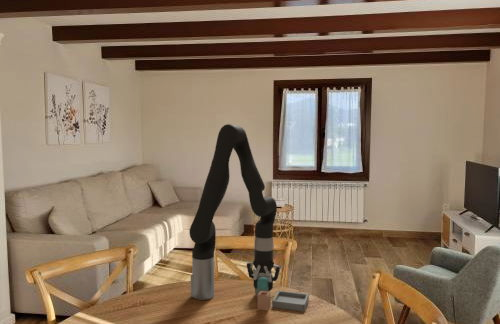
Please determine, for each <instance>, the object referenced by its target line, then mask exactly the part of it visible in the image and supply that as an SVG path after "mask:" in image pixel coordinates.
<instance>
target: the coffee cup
mask: <svg viewBox="0 0 500 324" xmlns="http://www.w3.org/2000/svg"><path fill="white" fill-rule="evenodd" d="M252 269H253V274H254V275H255V272H256V268H255V267H254V266H253V268H252ZM271 271H272V272H273V270H272V269H271ZM260 277H266V278H267V279H268V277H267V275H266V274H265V273H259V275H258V279H259V278H260ZM268 280H269V279H268ZM260 291H266V292H270V291H268V288H267V289H266V290H261V289H259V288H257V289H255V288H254V294H255V296H256V298H258V294H259V292H260Z"/></svg>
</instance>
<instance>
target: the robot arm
mask: <svg viewBox="0 0 500 324" xmlns="http://www.w3.org/2000/svg"><path fill="white" fill-rule="evenodd" d="M214 148H215V149H214V153H213V157H212V160H211V165H210V166H209V171H208V173H207V175H206V179H205V182H204V186H203V191H202V193H201V196H200V200H199V205H198V209H197V211H196V213H195V216H194V218H193V220H192V223H191V225H190V226H189V236H190V239H191V241H192V242H193V243H194V244H193V245H194V246H193V247H192V251H191V255H192V256H191V258H192V264H191V265H192V267H191V269H192V272H191V273H192V274H190V298H193V299H195V300H200V301H205V300H210V299H213V298H214V296H215V250H216V239H217V238H216V235H217V233H216V232H217V231H216V225H215V223H214V221H213V219H214V217H215V214H216V212H217V210H218V209H219V207H220V204H221V203H222V201H223V199H224V197H225V195H226V191H227V189H228V186H229V183H230V158H231V155H232V152H233V150H234V151H235V153H236V155H237V157H238V161H239V167H240V174H241V178H242V181H243V183H244V185H245V188H246V190H247V192H248V199H249V204H250V208H251V210H252V212H253V213H254V214H255V216H257V217H260V218H259V219H258V220H257V222H256V223H255V226H254V227H255V229H254V230H255V231H254V234H255V235H254V244H253V245H254V247H253V248H254V252H253V253H254V255H253V261H248V262H247V263H246V269H247V273H248V277H249V278H250V279H252V280H253V288H254V290H255V289H257V288H258V286H257V281H258V275H259V273H265V274H266V275H267V277H268V279H269V282H268V291H269V292H271V291H272V289H273V287H274V282H276V281H277V280H278V279H279V277H280V276H279V275H280V271H281V268H282V266H281V264H278V265H277V264H275V262H274V248H275V247H274V245H275V244H274V225H275V224H274V223H275V221H276V220H275V219H276V216H277V211H278V205H277V202H276V200H275V198H273V197H272V196H264V194H263V191H265V188H266V187H265V183H264V181H263V178H262V176H261V174H260V172H259V170H258V167H257V164H256V162H255V159H254V157H253V153H252V150H251V147H250V142H249V139H248V135H247V132H246V130H245V129H244V127H242V126H239V125H236V124H235V125H234V124H232V123H231V124H229V123H227V124H224V125H223V126H221V128H220V129H219V132H218V134H217V140H216V143H215V147H214ZM254 267H255V268H256V272H255V275H254V274H253V269H254ZM272 269H274V271H275V272H274V276H273V270H272ZM271 270H272V271H271Z"/></svg>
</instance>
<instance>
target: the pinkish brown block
mask: <svg viewBox="0 0 500 324" xmlns="http://www.w3.org/2000/svg"><path fill="white" fill-rule="evenodd" d="M270 308H271V291H269V292H266V291H260V292H259V294H258V297H257V310H258V311H266V312H267V311H269V310H270Z"/></svg>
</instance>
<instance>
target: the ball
mask: <svg viewBox="0 0 500 324" xmlns="http://www.w3.org/2000/svg"><path fill="white" fill-rule="evenodd" d="M268 282H269V280H268V279H267V278H266V277H260V278H259V279H258V281H257V286H258V288H259V289H261V290H266V289H267V288H268Z"/></svg>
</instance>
